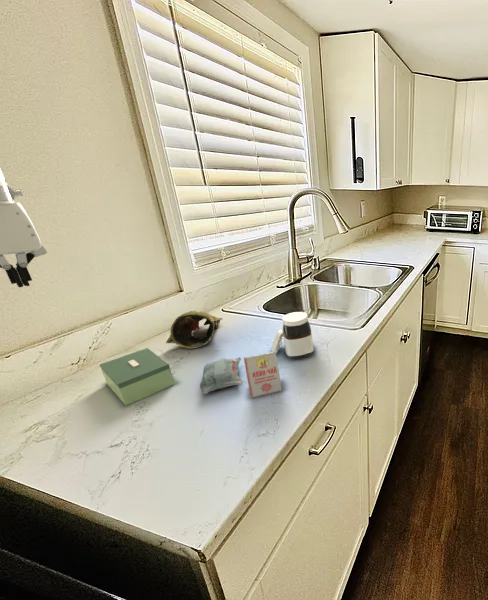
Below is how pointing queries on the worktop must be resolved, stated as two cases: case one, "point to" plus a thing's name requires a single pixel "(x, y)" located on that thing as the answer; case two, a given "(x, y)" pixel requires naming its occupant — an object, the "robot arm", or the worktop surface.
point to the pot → (192, 329)
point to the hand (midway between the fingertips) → (23, 285)
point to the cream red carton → (262, 374)
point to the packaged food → (220, 375)
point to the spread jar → (294, 336)
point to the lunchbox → (137, 375)
